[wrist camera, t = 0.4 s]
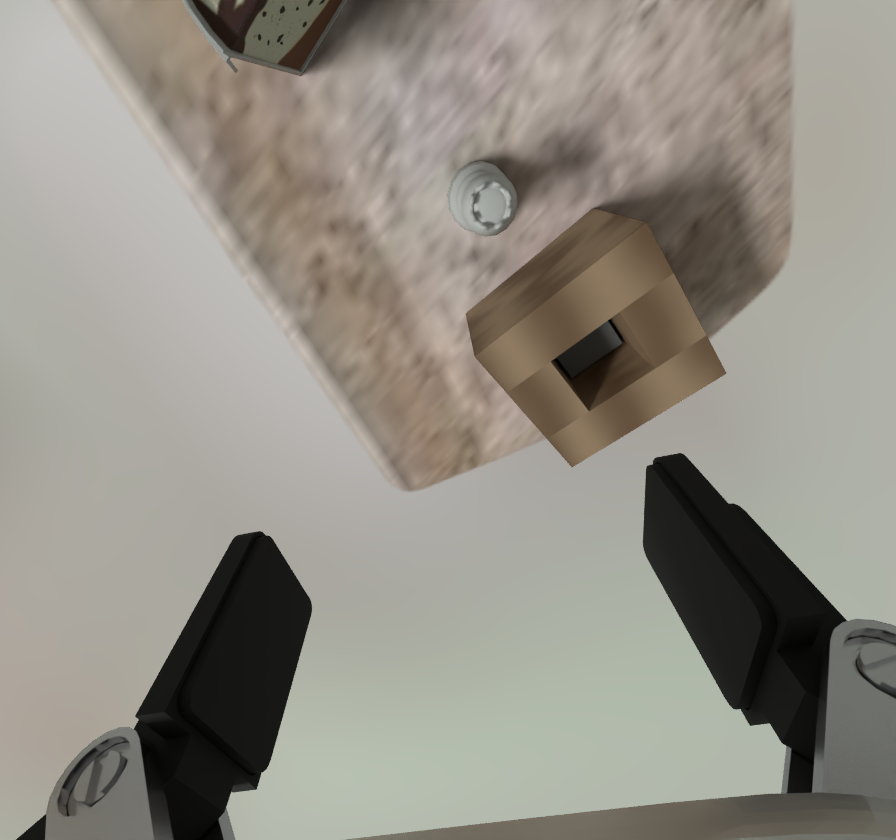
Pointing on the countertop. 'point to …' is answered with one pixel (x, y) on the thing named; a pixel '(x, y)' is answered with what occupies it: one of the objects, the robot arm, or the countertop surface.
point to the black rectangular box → (589, 349)
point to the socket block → (578, 314)
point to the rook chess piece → (482, 199)
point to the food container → (266, 29)
